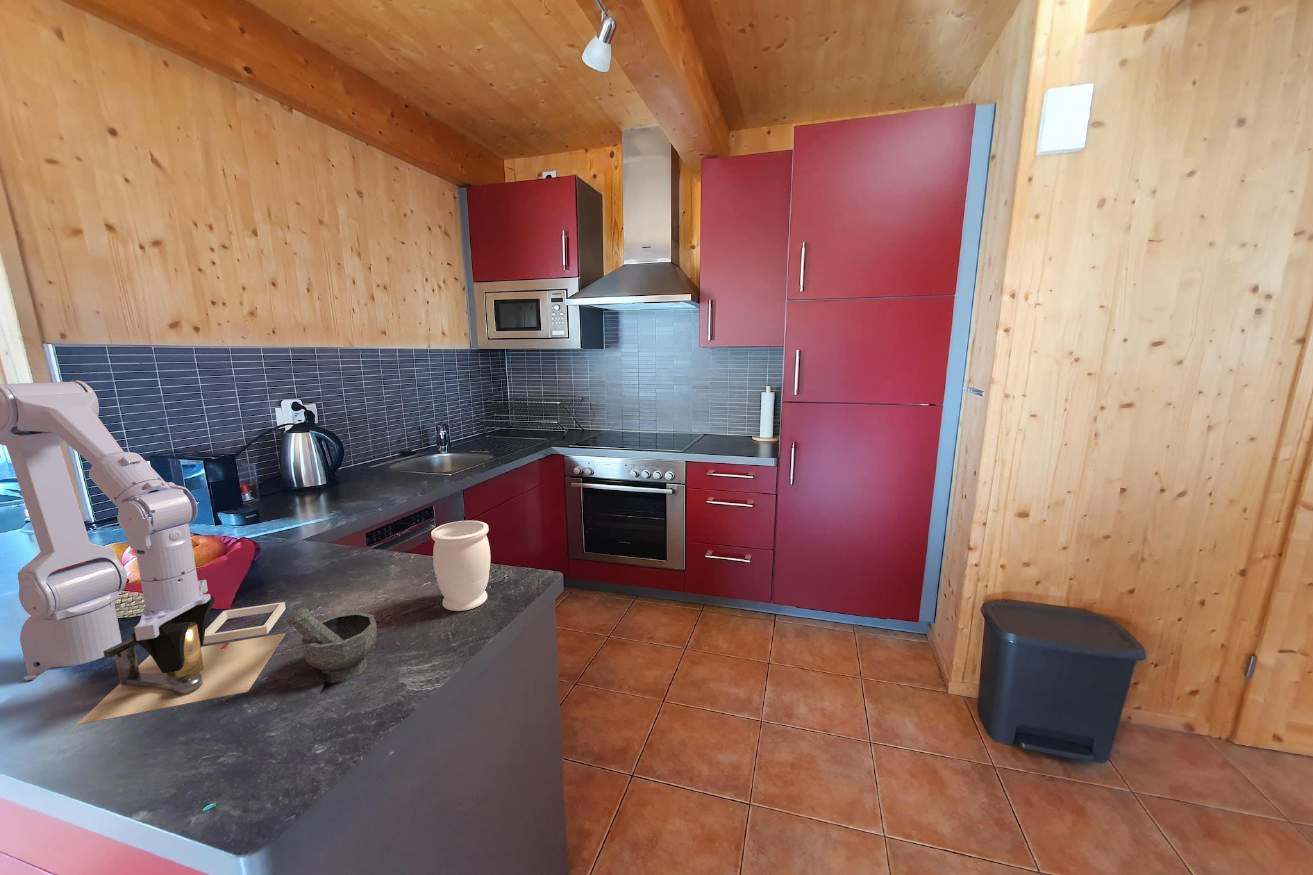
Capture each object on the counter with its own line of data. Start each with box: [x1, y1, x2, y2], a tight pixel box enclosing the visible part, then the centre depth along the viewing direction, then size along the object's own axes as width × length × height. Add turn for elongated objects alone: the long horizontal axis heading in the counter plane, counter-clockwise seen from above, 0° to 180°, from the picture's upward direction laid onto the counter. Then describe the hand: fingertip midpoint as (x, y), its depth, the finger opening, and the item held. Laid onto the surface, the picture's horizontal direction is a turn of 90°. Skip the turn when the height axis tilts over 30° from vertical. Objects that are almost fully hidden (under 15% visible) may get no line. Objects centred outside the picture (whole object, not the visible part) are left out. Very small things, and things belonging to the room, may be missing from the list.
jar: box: [430, 520, 491, 612], centre depth 97 cm, size 11×10×15 cm
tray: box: [203, 601, 286, 645], centre depth 87 cm, size 9×9×2 cm
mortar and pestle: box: [286, 607, 378, 684], centre depth 75 cm, size 11×9×12 cm
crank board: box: [75, 632, 287, 726], centre depth 74 cm, size 18×16×1 cm
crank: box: [103, 637, 203, 695], centre depth 70 cm, size 12×4×6 cm, turn 81°
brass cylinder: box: [166, 622, 204, 677], centre depth 73 cm, size 4×4×7 cm
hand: (183, 659), depth 74 cm, fingers open, 5 cm apart
